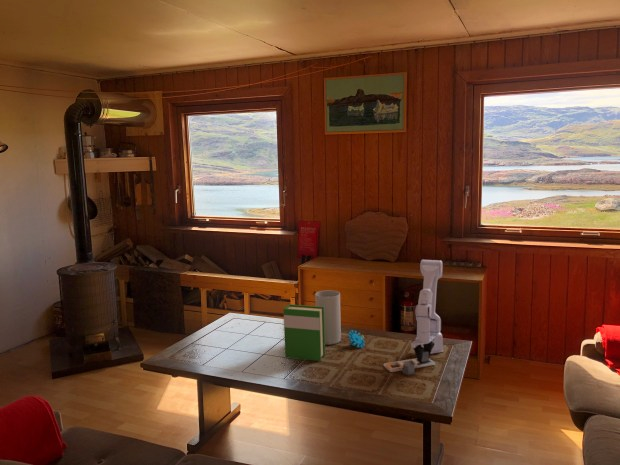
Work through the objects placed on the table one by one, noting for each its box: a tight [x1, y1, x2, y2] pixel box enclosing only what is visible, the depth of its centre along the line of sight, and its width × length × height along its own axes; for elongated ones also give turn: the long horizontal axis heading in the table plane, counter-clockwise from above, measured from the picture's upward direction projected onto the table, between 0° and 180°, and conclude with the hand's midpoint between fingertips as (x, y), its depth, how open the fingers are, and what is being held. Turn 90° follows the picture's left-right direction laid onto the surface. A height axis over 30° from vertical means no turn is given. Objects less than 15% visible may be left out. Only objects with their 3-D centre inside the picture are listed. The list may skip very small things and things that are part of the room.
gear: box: [347, 329, 365, 349], centre depth 256 cm, size 11×6×10 cm
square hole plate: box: [383, 357, 436, 373], centre depth 230 cm, size 22×7×1 cm, turn 107°
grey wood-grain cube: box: [402, 362, 415, 376], centre depth 222 cm, size 4×4×4 cm
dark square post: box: [418, 349, 430, 364], centre depth 232 cm, size 4×4×6 cm
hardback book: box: [283, 304, 326, 362], centre depth 243 cm, size 18×7×24 cm, turn 71°
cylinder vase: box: [314, 289, 342, 346], centre depth 262 cm, size 12×12×25 cm
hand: (423, 359), depth 232 cm, fingers closed on dark square post, 4 cm apart
